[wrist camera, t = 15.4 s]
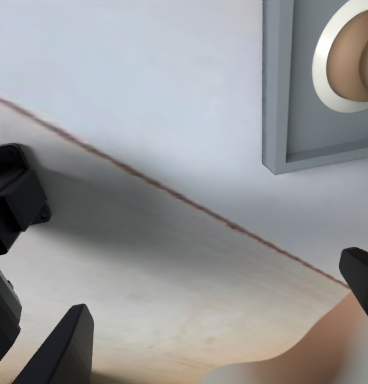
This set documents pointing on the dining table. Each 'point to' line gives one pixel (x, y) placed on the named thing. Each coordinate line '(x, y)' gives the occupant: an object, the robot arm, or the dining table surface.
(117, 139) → the dining table surface
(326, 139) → the square tray
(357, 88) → the bead column
